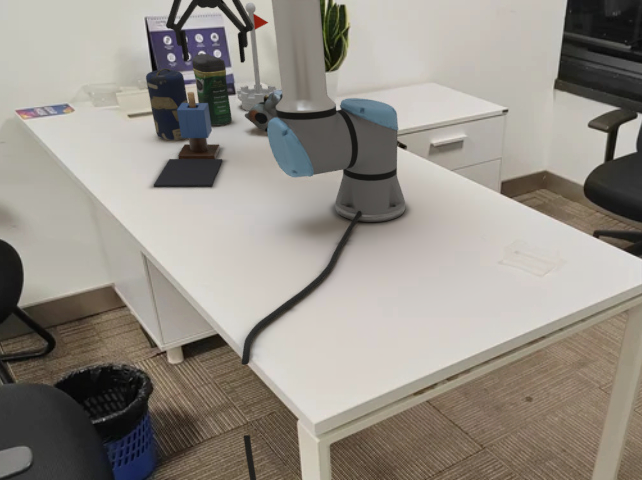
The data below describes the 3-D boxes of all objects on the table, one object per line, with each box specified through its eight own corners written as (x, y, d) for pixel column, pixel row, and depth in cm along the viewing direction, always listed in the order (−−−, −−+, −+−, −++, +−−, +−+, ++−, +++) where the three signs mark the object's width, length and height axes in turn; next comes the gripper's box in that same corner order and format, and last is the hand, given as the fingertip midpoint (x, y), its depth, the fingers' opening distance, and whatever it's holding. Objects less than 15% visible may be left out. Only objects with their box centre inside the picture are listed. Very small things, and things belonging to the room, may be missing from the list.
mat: (211, 186, 160) (211, 184, 160) (153, 187, 159) (153, 184, 158) (222, 161, 175) (222, 158, 175) (169, 161, 174) (169, 158, 173)
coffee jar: (236, 123, 202) (228, 56, 192) (211, 128, 198) (201, 59, 188) (221, 116, 208) (213, 50, 198) (196, 120, 204) (186, 53, 194)
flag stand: (232, 110, 214) (219, 3, 197) (248, 100, 225) (237, -2, 208) (272, 113, 212) (263, 6, 196) (286, 103, 223) (278, 1, 206)
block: (207, 138, 174) (203, 110, 170) (181, 138, 173) (176, 109, 169) (211, 130, 179) (208, 103, 175) (186, 130, 178) (181, 102, 174)
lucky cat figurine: (269, 119, 207) (289, 77, 200) (297, 142, 204) (318, 101, 198) (235, 115, 194) (255, 71, 187) (264, 140, 191) (286, 96, 185)
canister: (200, 136, 191) (190, 68, 181) (173, 144, 184) (161, 74, 174) (177, 130, 195) (165, 63, 185) (149, 137, 188) (136, 68, 178)
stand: (215, 160, 176) (206, 97, 167) (178, 159, 175) (168, 97, 166) (220, 148, 183) (212, 88, 174) (185, 148, 182) (175, 88, 173)
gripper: (259, -37, 162) (267, 58, 174) (150, -41, 159) (166, 56, 171) (255, -34, 156) (264, 65, 167) (142, -38, 153) (159, 62, 165)
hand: (214, 60), depth 169 cm, fingers open, 13 cm apart
